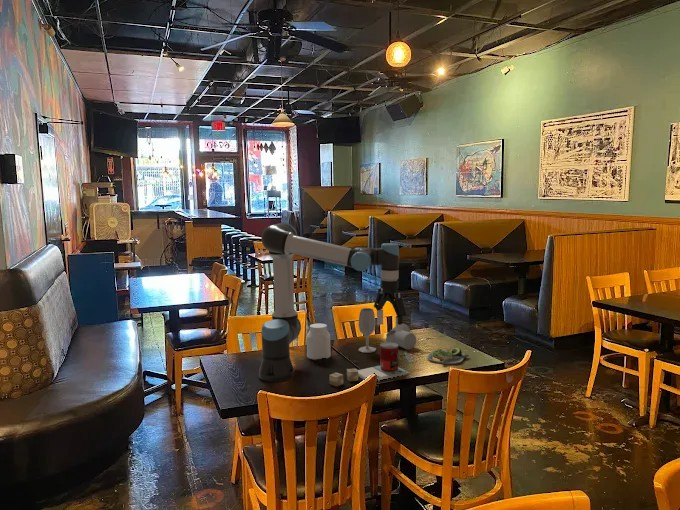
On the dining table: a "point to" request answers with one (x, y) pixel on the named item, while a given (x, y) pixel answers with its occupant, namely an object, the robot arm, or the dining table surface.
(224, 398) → the dining table surface
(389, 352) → the canned food
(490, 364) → the dining table surface
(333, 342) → the dining table surface
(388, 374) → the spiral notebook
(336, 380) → the maple block
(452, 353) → the salad plate
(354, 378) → the maple block
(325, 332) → the jar
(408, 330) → the bent grey cylinder
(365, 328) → the wineglass
